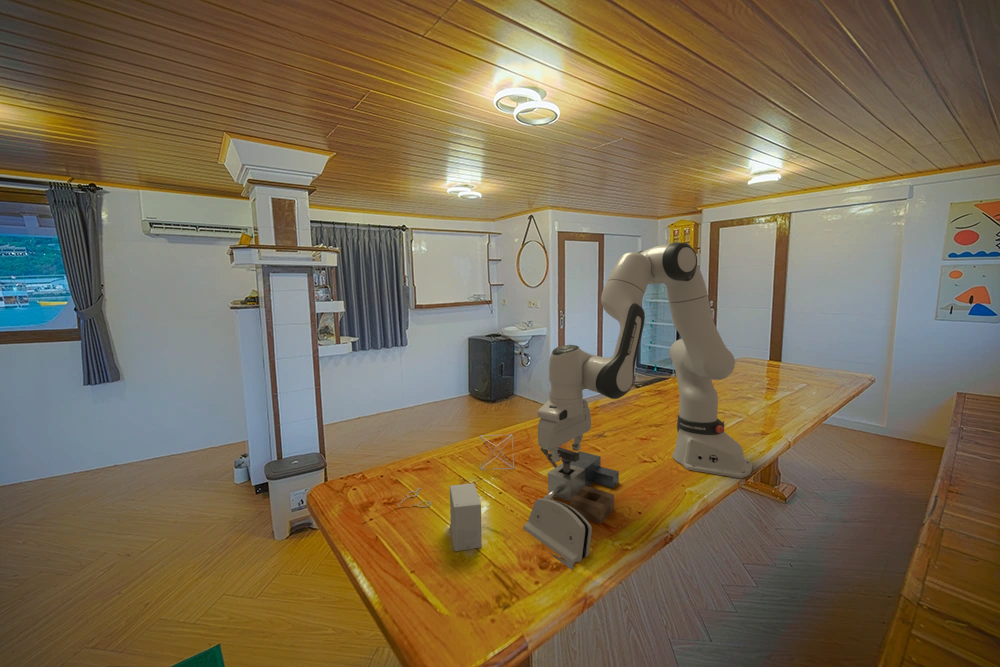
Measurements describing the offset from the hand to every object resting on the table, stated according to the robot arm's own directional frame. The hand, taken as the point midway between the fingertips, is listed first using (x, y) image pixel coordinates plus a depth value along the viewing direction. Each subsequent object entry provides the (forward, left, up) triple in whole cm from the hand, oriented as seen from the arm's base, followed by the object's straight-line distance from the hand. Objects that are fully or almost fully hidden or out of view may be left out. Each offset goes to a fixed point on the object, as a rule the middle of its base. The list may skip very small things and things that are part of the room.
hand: (566, 455), depth 112 cm
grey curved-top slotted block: (-9, +20, -12) cm, 25 cm away
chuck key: (0, 0, -10) cm, 10 cm away
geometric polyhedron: (+28, -4, -12) cm, 31 cm away
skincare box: (+10, +30, -12) cm, 34 cm away
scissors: (+34, +32, -12) cm, 48 cm away
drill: (-3, -2, -12) cm, 12 cm away
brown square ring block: (-10, +5, -12) cm, 16 cm away
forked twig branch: (+11, -19, -12) cm, 25 cm away
